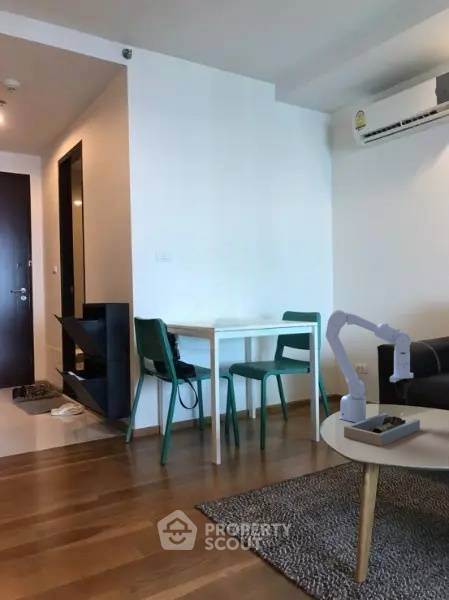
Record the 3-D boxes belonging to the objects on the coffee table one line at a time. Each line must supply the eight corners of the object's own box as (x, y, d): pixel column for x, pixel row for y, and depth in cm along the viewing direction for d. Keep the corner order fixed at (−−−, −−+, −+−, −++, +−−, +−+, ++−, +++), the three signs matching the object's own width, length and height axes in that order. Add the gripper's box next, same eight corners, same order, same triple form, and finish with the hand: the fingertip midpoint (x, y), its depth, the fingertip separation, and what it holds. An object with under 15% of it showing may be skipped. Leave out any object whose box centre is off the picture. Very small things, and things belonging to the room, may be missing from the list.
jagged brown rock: (384, 442, 159) (384, 425, 159) (366, 438, 164) (366, 422, 164) (409, 431, 171) (409, 416, 171) (391, 428, 176) (391, 413, 176)
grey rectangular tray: (344, 436, 164) (344, 426, 164) (384, 421, 183) (384, 412, 183) (380, 446, 154) (380, 435, 154) (419, 429, 173) (419, 420, 173)
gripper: (402, 366, 174) (402, 403, 174) (420, 362, 184) (420, 397, 184) (384, 364, 179) (384, 399, 179) (403, 360, 189) (403, 394, 189)
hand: (401, 398), depth 182 cm, fingers closed
